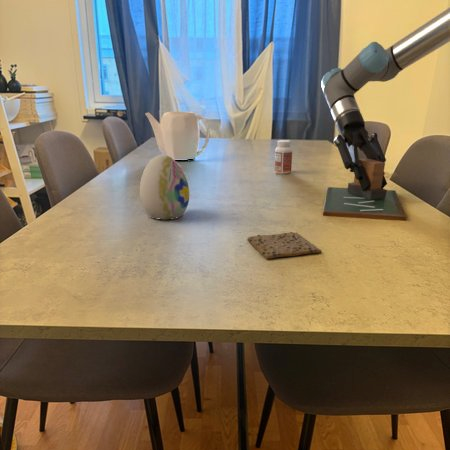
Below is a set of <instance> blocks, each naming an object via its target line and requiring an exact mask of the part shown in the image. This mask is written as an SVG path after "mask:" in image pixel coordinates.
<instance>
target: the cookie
mask: <svg viewBox="0 0 450 450" xmlns="http://www.w3.org/2000/svg"><path fill="white" fill-rule="evenodd" d="M246 238H247V239H246V240H247V242H248V243H249V244H250V245H251V246H252V247H253V248H254V249H255V250H256V251H257V252H259V253H260V255H261V256H263V258H264V259H266V260H271V259H276V258H280V257H295V256H303V255H308V254H322V253H323V252H322V249H320V247H318V246H316V245H315V244H314V243H312V242H311V241H309V240H307V239H306V238H305V237H303V236H302V235H301V234H299V233H298V232H293V231H290V232H281V233H275V234H257V235H253V236H248V237H246Z"/></svg>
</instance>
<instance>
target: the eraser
mask: <svg viewBox="0 0 450 450" xmlns="http://www.w3.org/2000/svg"><path fill="white" fill-rule="evenodd" d="M360 165H363V168H364V171H365V173H366V176H367V178H368V181H369V183H370V186H369V187H368V188H367V189H366V190H365V191H362V188H361V185H360V183H359V180H357V179H356V177H355V176H354V177H353V182H348V184H347V188H348V190H347V192H350V193H352V194H355V195H358V196H360V197H363V198H366V199H368V200H378V199H385V197H386V191H387V190H388V189H385V188H381V186H382V180H383V173H385V166H386V162H385V163H384V162H380V161H376V160H372V159H368V158H367V157H365V158H364V157H363V158H359V166H360Z"/></svg>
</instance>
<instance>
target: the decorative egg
mask: <svg viewBox="0 0 450 450" xmlns="http://www.w3.org/2000/svg"><path fill="white" fill-rule="evenodd" d="M139 197H140V202H141V204H142V207H143V210H144V211H145V213H146V214H147V215H148V216H149V217H150V216H151V217H150V218H152V217H154V218H160V219H171V218H176V217H179V218H181V217H182V216H184V214H185V212H186V210H187V208H188V205H189V202H190V187H189V182H188V178H187V177H186V174H185V172H184V170H183V168H182V167H181V165H180V164H179V163H178V161H175V160H174V159H173V158H171V157H170V156H167V154H158V155H155V156H154V157H152V158H151V159H150V160H149V161H148V163H147V165H146V166H145V167H144V170H143V172H142V174H141V178H140V183H139ZM180 216H181V217H180ZM154 218H153V219H154ZM176 219H177V218H176ZM171 220H172V219H171Z"/></svg>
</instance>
